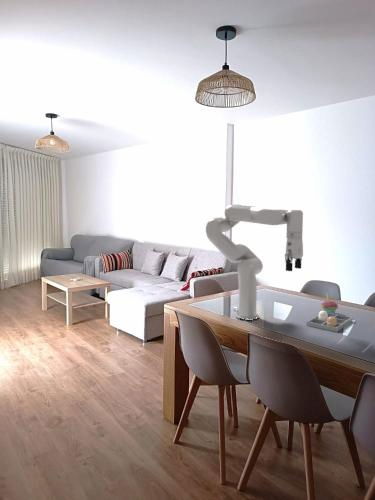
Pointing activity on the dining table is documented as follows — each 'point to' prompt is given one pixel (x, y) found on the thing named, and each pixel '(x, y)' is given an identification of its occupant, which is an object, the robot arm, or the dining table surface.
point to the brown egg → (332, 321)
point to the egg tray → (322, 324)
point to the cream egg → (323, 315)
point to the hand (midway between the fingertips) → (293, 269)
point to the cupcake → (329, 306)
